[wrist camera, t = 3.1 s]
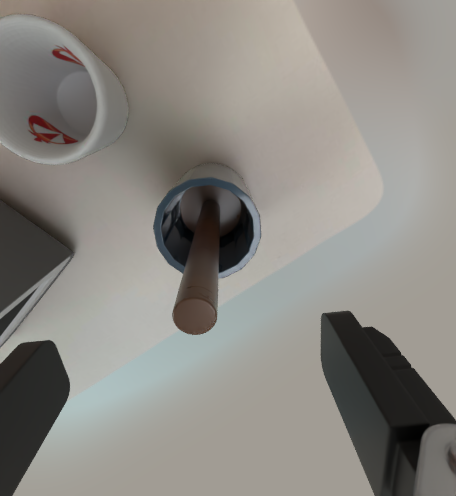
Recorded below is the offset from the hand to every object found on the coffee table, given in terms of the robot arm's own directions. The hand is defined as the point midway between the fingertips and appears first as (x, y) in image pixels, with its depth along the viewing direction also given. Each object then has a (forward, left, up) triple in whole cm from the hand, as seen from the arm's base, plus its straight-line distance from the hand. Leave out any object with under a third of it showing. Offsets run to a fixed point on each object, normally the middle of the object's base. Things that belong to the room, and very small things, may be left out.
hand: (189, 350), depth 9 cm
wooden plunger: (0, 0, -20) cm, 20 cm away
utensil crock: (0, 0, -20) cm, 20 cm away
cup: (+10, -10, -21) cm, 25 cm away
